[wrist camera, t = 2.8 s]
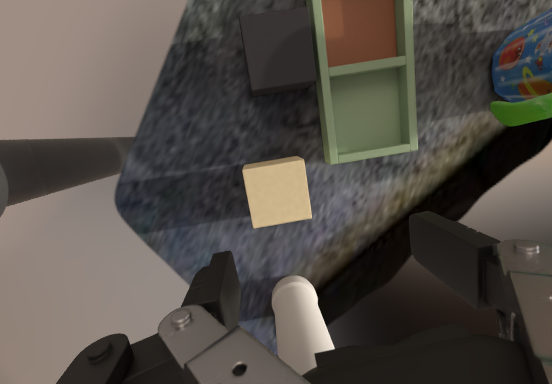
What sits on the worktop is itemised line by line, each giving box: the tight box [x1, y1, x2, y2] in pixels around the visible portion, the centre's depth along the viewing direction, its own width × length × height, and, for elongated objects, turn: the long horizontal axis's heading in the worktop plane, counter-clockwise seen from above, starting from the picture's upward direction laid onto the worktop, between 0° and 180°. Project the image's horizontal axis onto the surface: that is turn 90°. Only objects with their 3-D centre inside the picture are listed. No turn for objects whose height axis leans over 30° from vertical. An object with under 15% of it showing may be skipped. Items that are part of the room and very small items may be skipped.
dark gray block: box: [239, 7, 317, 97], centre depth 23 cm, size 6×6×4 cm
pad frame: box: [306, 0, 418, 165], centre depth 25 cm, size 9×17×2 cm, turn 9°
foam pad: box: [242, 156, 312, 228], centre depth 26 cm, size 6×6×4 cm
